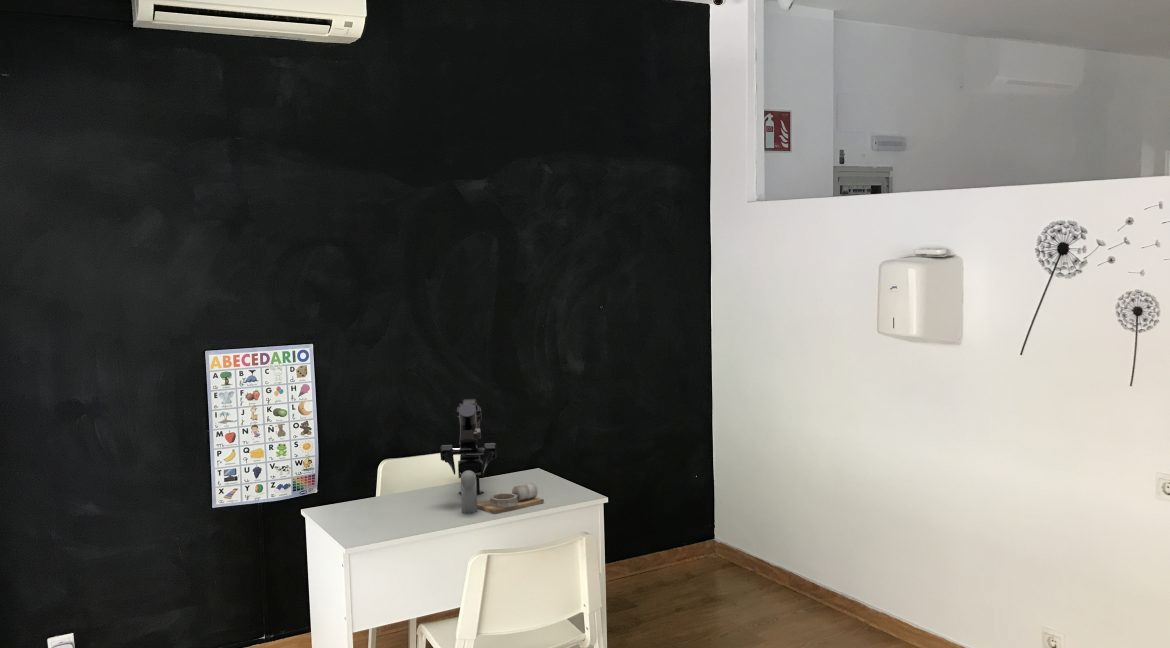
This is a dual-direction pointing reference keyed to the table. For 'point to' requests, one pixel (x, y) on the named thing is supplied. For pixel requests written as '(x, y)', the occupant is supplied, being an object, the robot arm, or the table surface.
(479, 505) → the board
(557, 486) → the table surface
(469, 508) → the elbow
